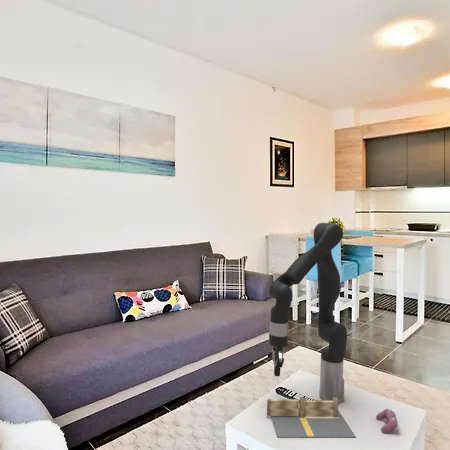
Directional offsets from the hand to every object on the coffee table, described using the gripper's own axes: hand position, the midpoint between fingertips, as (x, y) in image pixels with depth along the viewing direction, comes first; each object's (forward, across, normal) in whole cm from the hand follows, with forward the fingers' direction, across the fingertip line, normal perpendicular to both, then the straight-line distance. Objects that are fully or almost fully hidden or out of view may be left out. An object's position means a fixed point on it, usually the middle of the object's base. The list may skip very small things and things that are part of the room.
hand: (276, 375), depth 144 cm
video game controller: (+14, -12, -40) cm, 44 cm away
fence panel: (+13, -6, -2) cm, 14 cm away
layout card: (+14, -9, -11) cm, 20 cm away
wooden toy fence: (+14, -6, -16) cm, 22 cm away
